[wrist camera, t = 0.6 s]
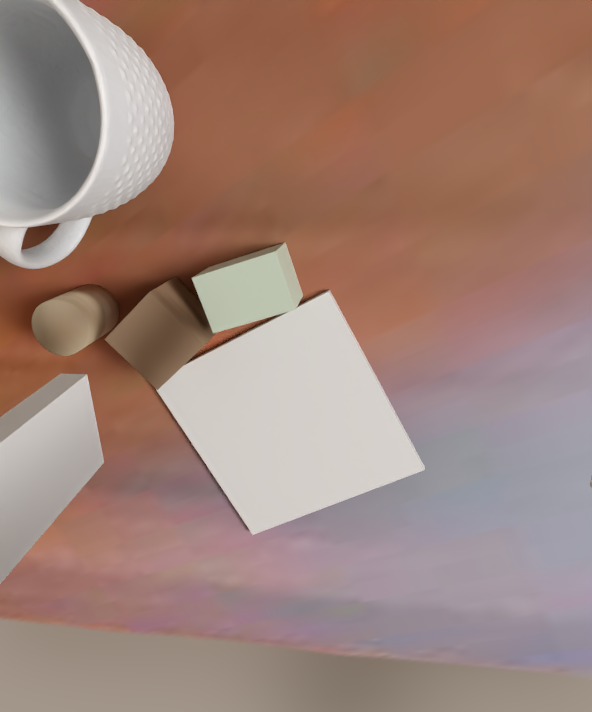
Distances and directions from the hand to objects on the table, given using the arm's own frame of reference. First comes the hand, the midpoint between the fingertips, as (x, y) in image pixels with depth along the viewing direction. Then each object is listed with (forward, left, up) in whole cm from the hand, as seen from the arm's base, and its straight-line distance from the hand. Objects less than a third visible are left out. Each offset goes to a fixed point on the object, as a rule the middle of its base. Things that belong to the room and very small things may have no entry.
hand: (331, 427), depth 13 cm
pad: (+9, -11, -25) cm, 29 cm away
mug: (-15, -11, -25) cm, 31 cm away
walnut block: (-2, -14, -25) cm, 29 cm away
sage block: (-2, -7, -25) cm, 26 cm away
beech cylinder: (-6, -20, -25) cm, 32 cm away
